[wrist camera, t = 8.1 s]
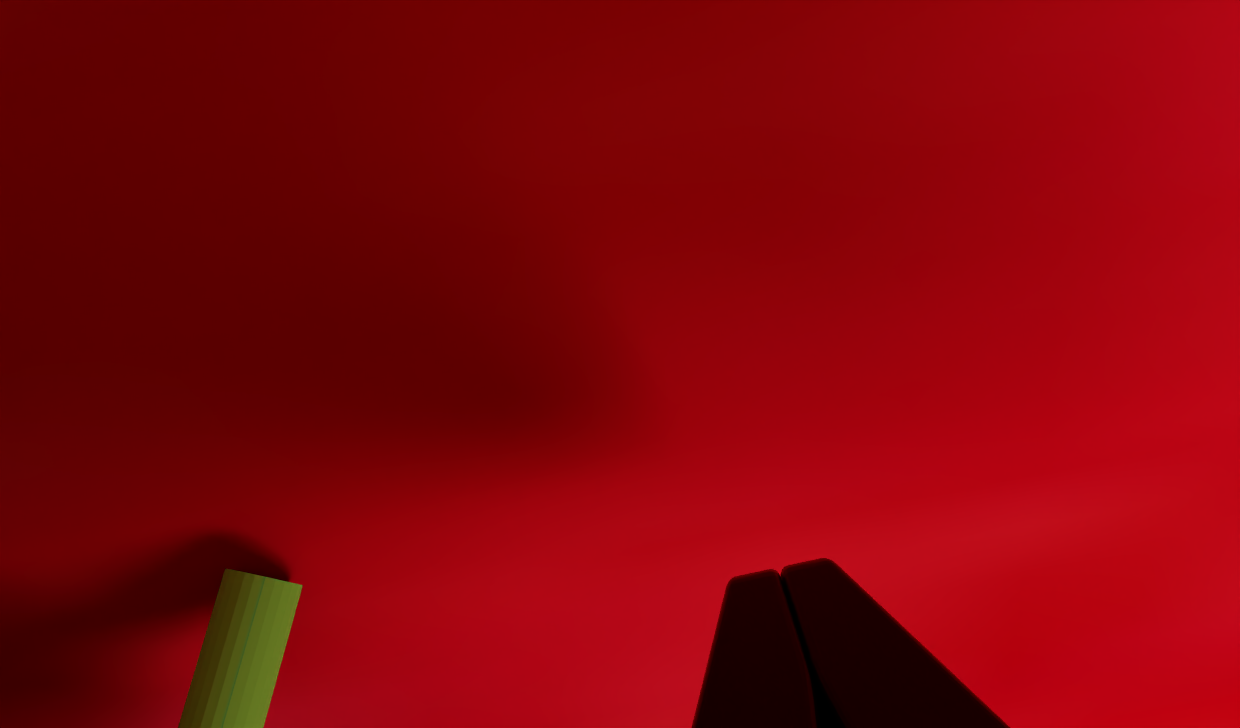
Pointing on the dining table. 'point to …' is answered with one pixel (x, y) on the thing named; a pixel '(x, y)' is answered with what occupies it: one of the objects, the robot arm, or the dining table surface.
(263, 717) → the gear
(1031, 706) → the dining table surface
